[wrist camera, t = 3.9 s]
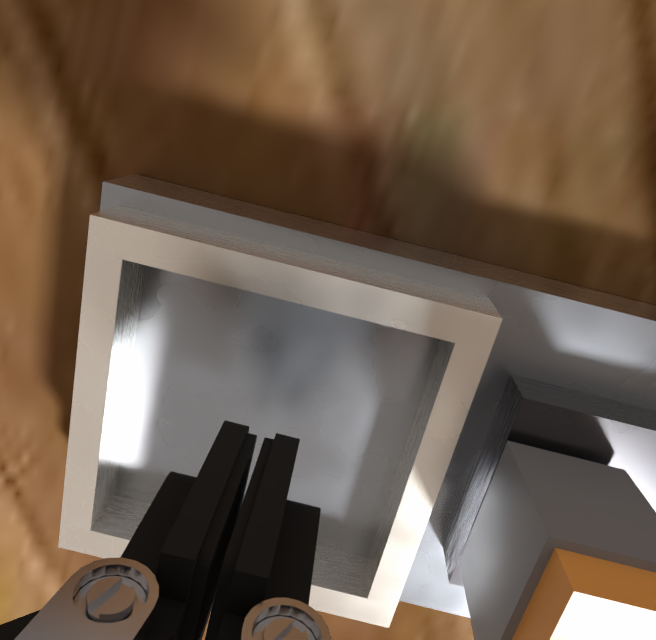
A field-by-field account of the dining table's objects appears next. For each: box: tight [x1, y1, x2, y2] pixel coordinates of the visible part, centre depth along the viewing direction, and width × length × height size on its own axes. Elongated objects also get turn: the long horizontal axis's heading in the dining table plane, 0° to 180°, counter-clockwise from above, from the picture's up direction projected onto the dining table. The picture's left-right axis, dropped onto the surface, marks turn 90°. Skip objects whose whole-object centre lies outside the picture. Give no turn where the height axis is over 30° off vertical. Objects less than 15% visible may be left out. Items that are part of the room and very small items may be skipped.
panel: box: [58, 174, 656, 628], centre depth 15 cm, size 19×10×4 cm, turn 77°
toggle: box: [459, 441, 656, 640], centre depth 12 cm, size 3×4×4 cm
